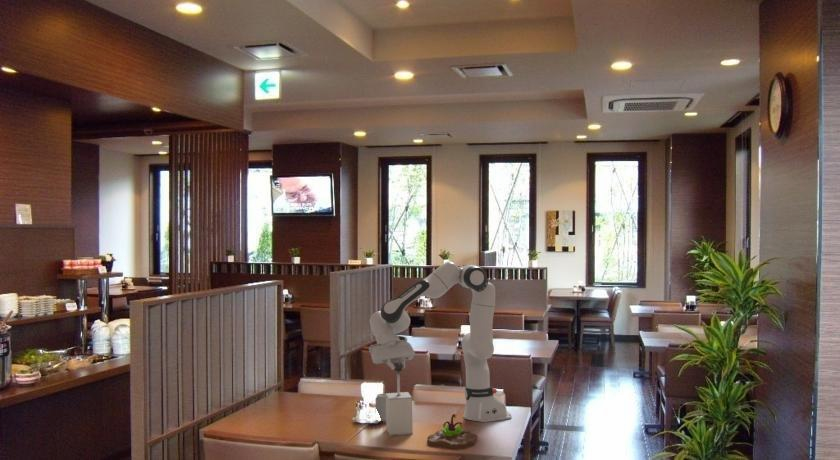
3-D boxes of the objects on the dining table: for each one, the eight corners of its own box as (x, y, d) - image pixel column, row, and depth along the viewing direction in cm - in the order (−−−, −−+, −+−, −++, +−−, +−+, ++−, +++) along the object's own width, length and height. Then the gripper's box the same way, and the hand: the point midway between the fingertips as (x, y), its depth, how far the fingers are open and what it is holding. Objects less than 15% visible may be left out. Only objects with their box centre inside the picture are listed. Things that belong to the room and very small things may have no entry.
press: (408, 427, 306) (407, 392, 306) (412, 434, 296) (412, 397, 296) (386, 429, 304) (385, 393, 304) (389, 435, 294) (389, 398, 294)
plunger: (406, 408, 305) (405, 361, 305) (409, 413, 297) (408, 364, 297) (388, 409, 303) (387, 362, 303) (391, 414, 295) (390, 365, 296)
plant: (484, 438, 289) (483, 412, 289) (465, 451, 272) (464, 423, 272) (441, 432, 299) (441, 407, 299) (420, 445, 282) (420, 418, 282)
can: (389, 422, 314) (389, 396, 315) (374, 422, 316) (373, 396, 316) (393, 418, 322) (393, 393, 322) (378, 417, 323) (377, 392, 323)
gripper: (369, 341, 301) (380, 366, 292) (409, 336, 311) (421, 361, 303) (365, 349, 305) (375, 375, 296) (404, 345, 315) (416, 369, 307)
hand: (398, 368), depth 300 cm, fingers closed on plunger, 4 cm apart
